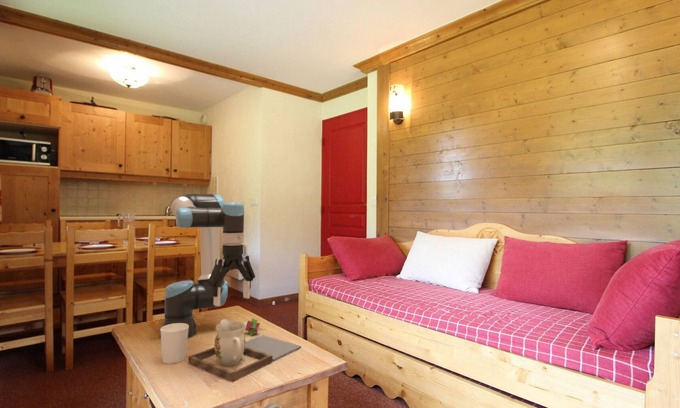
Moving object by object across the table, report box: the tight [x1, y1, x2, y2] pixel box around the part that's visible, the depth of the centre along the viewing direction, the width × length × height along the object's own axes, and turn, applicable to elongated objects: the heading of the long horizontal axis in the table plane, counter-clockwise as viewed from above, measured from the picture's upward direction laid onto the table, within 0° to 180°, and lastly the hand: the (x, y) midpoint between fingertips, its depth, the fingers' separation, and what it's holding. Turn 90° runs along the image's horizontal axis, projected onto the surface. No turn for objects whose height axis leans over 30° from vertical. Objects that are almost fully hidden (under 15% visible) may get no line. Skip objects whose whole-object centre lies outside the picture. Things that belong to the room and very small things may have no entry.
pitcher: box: [213, 319, 246, 367], centre depth 132 cm, size 11×18×14 cm, turn 36°
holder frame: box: [187, 346, 273, 383], centre depth 132 cm, size 24×18×2 cm
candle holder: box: [159, 323, 189, 365], centre depth 135 cm, size 10×10×12 cm
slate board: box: [245, 334, 302, 362], centre depth 146 cm, size 22×16×1 cm
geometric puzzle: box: [243, 317, 261, 337], centre depth 163 cm, size 7×7×8 cm
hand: (232, 301), depth 132 cm, fingers open, 13 cm apart
